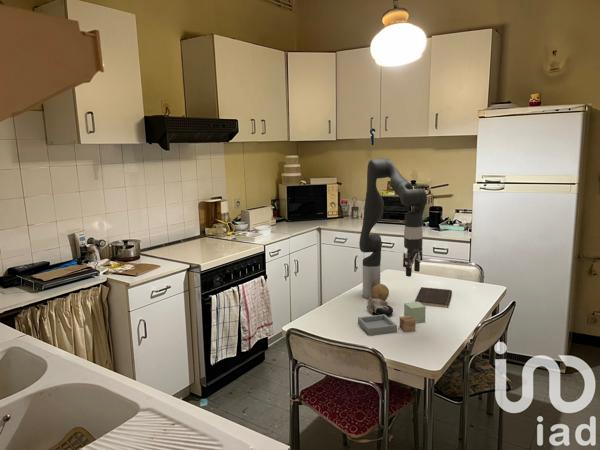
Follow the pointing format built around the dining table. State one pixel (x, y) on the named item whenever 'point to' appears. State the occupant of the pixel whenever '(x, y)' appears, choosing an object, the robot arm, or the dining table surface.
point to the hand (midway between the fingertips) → (412, 273)
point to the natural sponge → (379, 292)
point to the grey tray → (377, 324)
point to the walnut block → (407, 323)
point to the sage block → (415, 311)
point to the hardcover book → (434, 297)
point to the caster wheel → (379, 307)
